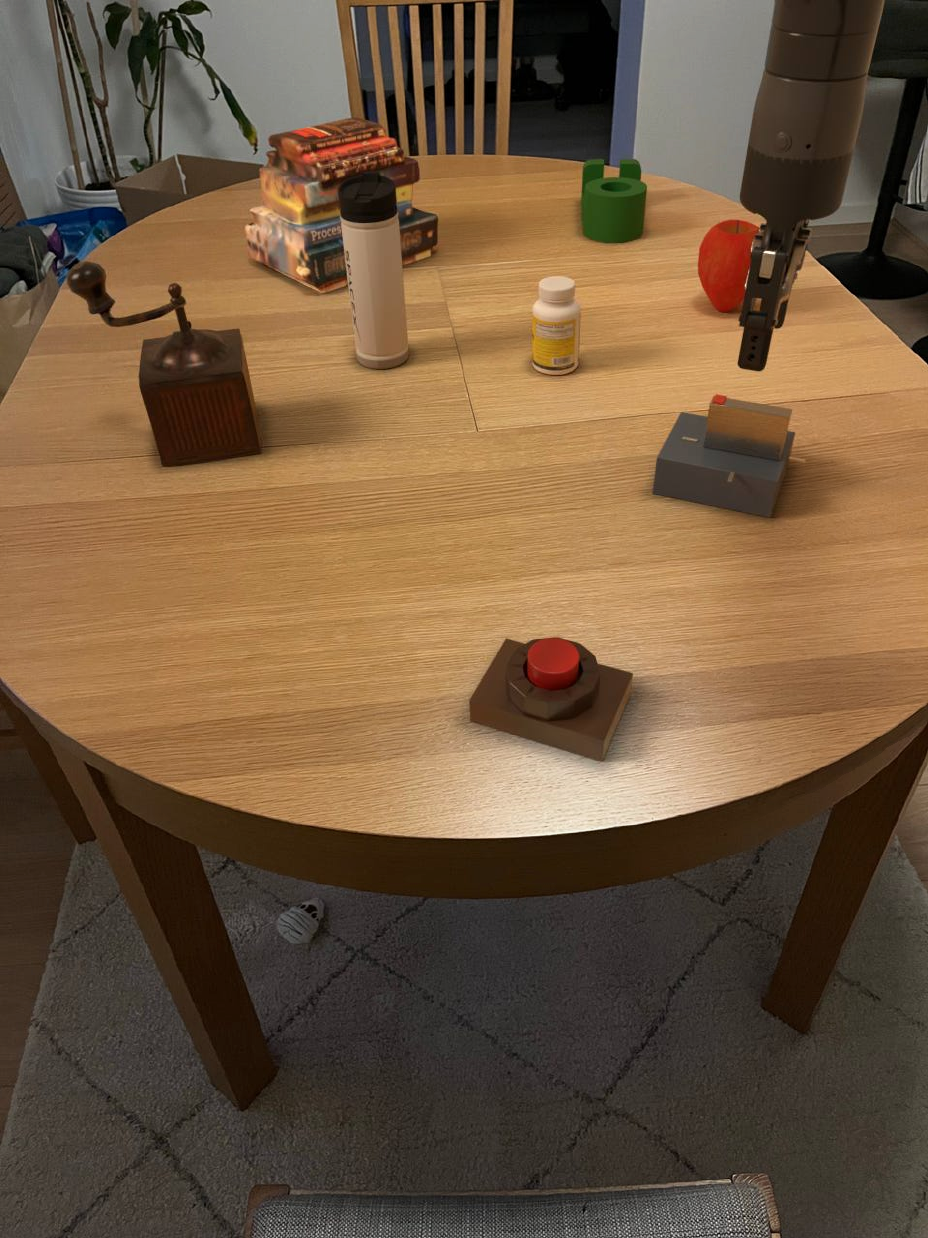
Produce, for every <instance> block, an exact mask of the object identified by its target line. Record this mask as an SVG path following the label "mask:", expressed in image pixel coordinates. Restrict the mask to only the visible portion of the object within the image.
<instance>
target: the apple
mask: <svg viewBox="0 0 928 1238" xmlns="http://www.w3.org/2000/svg"><path fill="white" fill-rule="evenodd" d="M759 229H760V226H758V225H756V224H754V223H752V222H748V221H746V220H741V219H727V220H723V221H721V222H718V223H716V224H715V225H713V226H712V227H710V229H709V230H708V232H706V234H705V235H704V237H703V239H702V242H701V244H700V246H699V249H698V257H697V258H698V259H697V274H698V278H699V281H700V284H701V287H702V290H703V291H704V293H705V296H706V297H707V298H708V300H709V302H710V303H711V306H712V307H713V308H714V309H715V310H717V311H718V312H721V313H728V312H731V311H732V310H734V309H735V308H737V307H738V306H739V305H740V304H741V303H743V301H744V296H745V283H746V279H747V276H748V272H749V268H750V264H751V259H750V256H751V247H752V243H753V239H754V236H755V234H758V233H759Z"/></svg>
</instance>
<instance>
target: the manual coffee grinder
mask: <svg viewBox="0 0 928 1238" xmlns="http://www.w3.org/2000/svg"><path fill="white" fill-rule="evenodd" d="M65 280H66V284H67V287H68V288H69V290H70V291H71V293H73V294H75V295H76V296H78V297H80V298H81V299H83V300H84V301H85V302H86V304H87V307H88V308H87V310H88V314H90V315H99V316H100V319H101V320H102V322H103V323H104V324H105V325H107V326H110V327H112V328H113V327H114V328H122V327H129V326H134V325H138V324H142V323H146V322H149V321H154V320H156V319H159V318H163V317H164V316H166V315H168V314H169V313H171V312H173V311H174V312H175V316H176V319H177V323H178V327H179V330H176V331H173V332H172V334H170V335H167V336H161V337H153V338H145V339H143V341H142V346H141V349H140V360H139V368H138V369H139V370H138V386H139V390H140V395H141V397H142V400H143V404H144V407H145V411H146V415H147V417H148V420H149V424H150V427H151V431H152V434H153V437H154V441H155V444H156V449H157V452H158V455H159V460H160V464H161V465H162V467H180V466H187V465H195V464H201V463H207V462H215V461H221V460H227V459H233V458H240V457H245V456H250V455H255V454H256V455H257V454H261V453H262V443H263V442H262V441H263V440H262V435H261V433H262V432H261V424H260V414H259V409H258V408H257V406H256V401H255V397H254V391H253V386H252V381H251V375H250V370H249V365H248V361H247V355H246V350H245V346H244V339H243V335H242V333H241V329H240V328H238V327H237V328H230V329H222V330H213V329H208V328H207V329H203V328H201V329H198V328H197V329H196V328H192V323H191V321H189V320H188V318H187V317H188V316H187V313H186V309H185V306H186V305H187V300H186V298H185V297H184V296H183V295H182V293H183V290H182V289H183V288H182V286H181V285H180V284H179V283H177V282H172V283H170V284H169V285H168V288H167V293H168V294H169V296H170V297H171V298H170V299H169V303H167V304H164V305H162V306H160V307H157V308H154V309H151V310H147V311H143V312H139V313H136V314H131V315H128V316H123V317H114V316H113V315H112V314H111V311H112V308H113V306H114V305H115V304H116V300H115V299H114V298H113V297H111V295H110V294H109V293H108V292H107V287H106V282H107V274H106V270H105V269H104V268H103V266H102V265H100V264H99V263H96V262H93V261H87V260H83V261H81V262H78V263H75V264H74V265H73V266H72V267H71V268H70V269H69V271H68V272H67V273H66V275H65Z"/></svg>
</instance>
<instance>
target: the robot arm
mask: <svg viewBox="0 0 928 1238" xmlns="http://www.w3.org/2000/svg"><path fill="white" fill-rule="evenodd" d="M884 6H885V0H774V4H773V13H772V19H771V24H770V30H769V36H768V43H767V48H766V55H765V59H764V60H765V61H764V68H763V72H762V77H761V80H760V85H759V88H758V91H757V93H756V98H755V101H754V107H753V111H752V118H751V124H750V129H749V130H750V131H749V136H748V137H749V138H748V141H747V149H746V154H745V161H744V165H743V166H744V168H743V172H742V178H741V179H742V180H741V186H740V192H739V202H740V204H741V206H742V207H743V208H744V209H745V210H747V211H748V212H750V213H751V214H754V215H759V216H761V217H762V218H763V219H764V220H765V222H761V223H760V226H759V228H760V229H759V233H758V234H755V236H754V239H753V243H752V247H751V256H750V259H751V264H750V268H749V272H748V276H747V279H746V283H745V296H744V300H743V301H742V306H741V311H740V314H739V317H738V322H739V323H738V325H739V327H741V328H743V331H742V337H741V340H740V341H741V342H740V347H739V352H738V359H737V366H738V367H739V368H740V369H742V370H747V371H753V372H762V371H764V370H765V368H766V366H767V362H768V358H769V353H770V348H771V343H772V338H773V333H774V329H781V328H782V327H783V325H784V323H785V319H786V315H787V310H788V305H789V301H790V296H791V292H792V288H793V285H794V284H795V281H796V280H797V279H798V276H799V275H798V274H799V273H798V272H799V271H802V268H803V264H804V260H805V258H806V253H807V250H808V247H809V245H810V241H811V238H812V233H813V228H811V227H809V225H810V221H816V220H820V219H824V218H828V217H830V216H831V215H833V214H834V213H836V212H837V211H838V210H839V209H840V207H841V205H842V203H843V198H844V193H845V190H846V186H847V181H848V177H849V173H850V168H851V164H852V160H853V156H854V151H855V147H856V142H857V138H858V133H859V129H860V126H861V121H862V117H863V112H864V106H865V100H866V99H865V98H866V88H867V82H868V81H867V80H868V77H869V76H868V74H869V70H870V66H871V62H872V57H873V53H874V49H875V44H876V39H877V35H878V32H879V27H880V23H881V20H882V16H883V11H884ZM757 299H760V305H759V310H757V309H756V310H755V309H754V308H755V304H756V301H757Z"/></svg>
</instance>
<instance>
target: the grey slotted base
mask: <svg viewBox="0 0 928 1238" xmlns="http://www.w3.org/2000/svg"><path fill="white" fill-rule="evenodd" d="M707 418H708V415H707V416H706V415H700V414H697V413H696V414H694V413H689V412H685V411H681V412H680V413H679V415H678V417H677V419H676V421H675V422H674V424H673V426H672V429H671V430H670V432H669V434H668V436H667V438H666V440H665V441H664V443H663V445H662V446H661V449H660V451H659V453H658V454H657V457H656V462H655V472H654V479H653V486H652V494H655V495H659V496H663V497H668V498H673V499H676V500H677V499H678V500H682V501H687V502H692V503H697V504H702V505H707V506H712V507H717V508H721V509H725V510H731V511H736V512H740V513H746V514H750V515H756V516H760V517H765V518H770V519H771V517H772V515H773V512H774V509H775V505H776V503H777V500H778V496H779V494H780V490H781V487H782V485H783V482H784V479H785V477H786V473H787V470H788V466H789V462H790V461H793V462H797V463H804V464H805V462H806V459H805V458H800V457H795V456H791V454H792V449H793V445H794V441H795V435H796V432H795V431H792V430H791V431H790V430H788V431H787V435H786V440H785V444H784V448H783V453H782V455H781V458H780V461H777V460H772V459H766V458H761V457H756V456H750V455H745V454H740V453H735V452H729V451H724V450H719V449H713V448H708V447H703V443H704V437H705V430H706V424H707Z"/></svg>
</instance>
